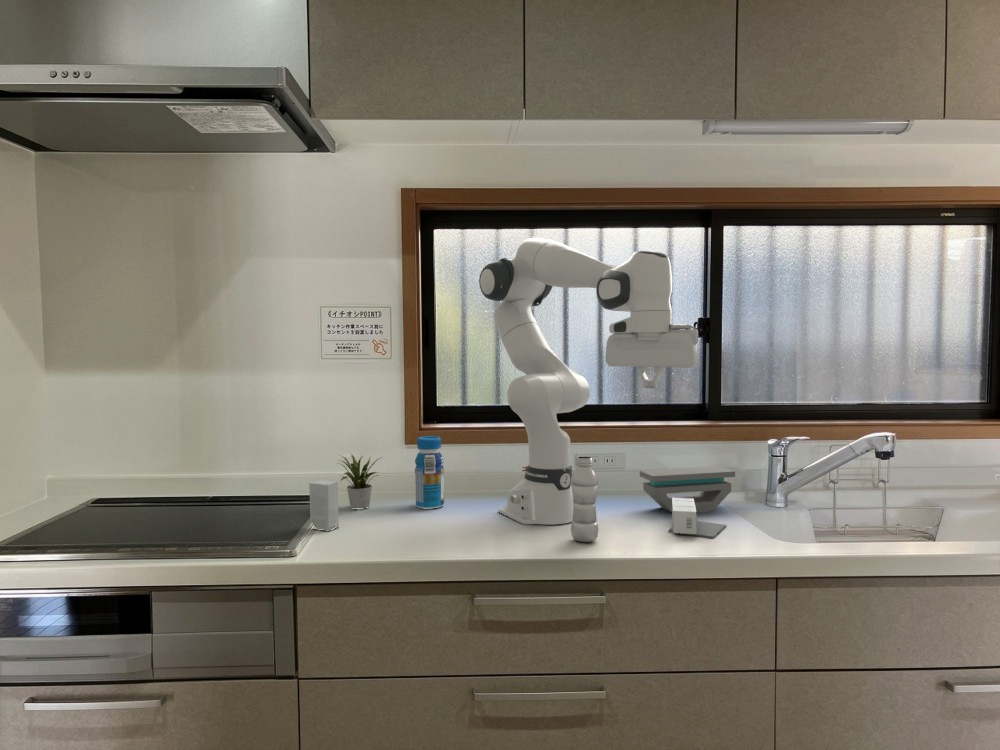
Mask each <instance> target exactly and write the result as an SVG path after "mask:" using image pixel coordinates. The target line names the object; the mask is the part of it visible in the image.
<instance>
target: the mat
mask: <svg viewBox="0 0 1000 750" xmlns="http://www.w3.org/2000/svg"><path fill="white" fill-rule="evenodd" d="M726 527H727V524H721V523H716V522H708V521H704V520H703V521H701V520H697V534H687V535H686V536H692V535H693V537H694V536H695V537H699V536H700V538H705V537H706V538H705V539H711V538H713V539H714V538H716V537H717V536H718V535H719V534H720V533H721V532H722V531H724V530H725V529H726ZM667 532H668V533H673V526H672V527H670V528H669V529H668V531H667ZM718 533H719V534H718ZM680 534H681V535H683V534H682V533H680ZM717 534H718V535H717ZM716 535H717V536H716ZM715 536H716V537H715Z"/></svg>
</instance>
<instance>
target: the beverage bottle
mask: <svg viewBox="0 0 1000 750" xmlns="http://www.w3.org/2000/svg"><path fill="white" fill-rule="evenodd" d="M416 442H417V443H416V444H417V446H416V447H417V450H418V451H419V452H417V454H416V457H415V459H414V463H415V468H414V475H415V481H414V483H415V506H417V507H419V508H418V509H420V508H437V507H441V506H443V505H445V490H444V489H445V488H444V487H445V486H444V484H445V481H444V478H445V467H444V457H443V455H442V453H441V452H440V450H441V447H442V439H441V437H440V436H434V435H427V436H426V435H425V436H420V437H418V438H417V440H416ZM417 507H416V508H417ZM443 507H444V506H443ZM441 508H442V507H441Z"/></svg>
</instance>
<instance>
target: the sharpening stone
mask: <svg viewBox="0 0 1000 750" xmlns="http://www.w3.org/2000/svg"><path fill="white" fill-rule="evenodd" d="M639 477H641V478H643V479H645V480H647V481H643V483H642V484H643V485H642V487H643V491H644V492H645V493H646V494H647V495H649V497H650V498H651V499H652V500H653V501H654V502H655V503H657V505H659V506H660V507H661V508H662V507H663V508H662V509H664V510H666V511H667V512H669V511H670V513H671V512H672V498H693V499H694V502H695V507H696V512H701V513H710V512H709V511H713V512H714V511H715V510H716V509H717V507H718V506H719V505H720V504H721V503H722V502H723V501H724V500H726V498H727V496H729V494H730V493H731V492H732V483H731V482H728V481H726V480H725V479H726V478H735V477H736V471H734V470H732V469H729V468H726V467H723V466H719V465H718V466H717V465H716V466H702V467H701V466H698V467H685V468H682V467H681V468H667V469H666V468H663V469H662V468H661V469H651V470H650V469H647V470H645V469H644V470H639ZM695 492H698V493H699V494H697V495H681V496H668V494H679V493H695Z"/></svg>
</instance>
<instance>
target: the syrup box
mask: <svg viewBox="0 0 1000 750" xmlns="http://www.w3.org/2000/svg"><path fill="white" fill-rule="evenodd" d="M697 514H698V513H696V507H695V502H694V499H693V498H672V513H671V515H672V516H671V518H672V519H671V521H672V527H673V532H672V533H673V534H679V533H682V534H681V535H686V534H697V521H698V518H697V517H698V516H697Z"/></svg>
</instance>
